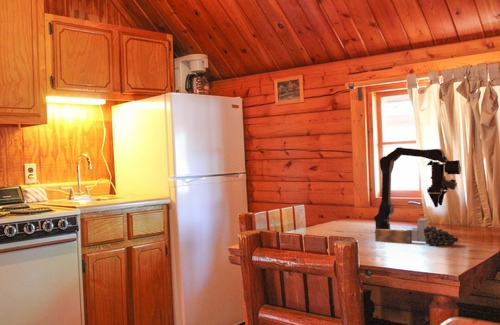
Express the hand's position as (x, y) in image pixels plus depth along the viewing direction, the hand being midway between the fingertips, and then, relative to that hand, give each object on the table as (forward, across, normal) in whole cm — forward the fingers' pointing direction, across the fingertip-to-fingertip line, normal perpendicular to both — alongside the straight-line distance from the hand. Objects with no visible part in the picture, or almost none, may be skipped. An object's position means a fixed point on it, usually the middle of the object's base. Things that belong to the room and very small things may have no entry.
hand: (438, 206), depth 245 cm
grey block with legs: (+15, -14, +6) cm, 21 cm away
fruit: (+15, -24, -6) cm, 29 cm away
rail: (+15, -24, +15) cm, 32 cm away
